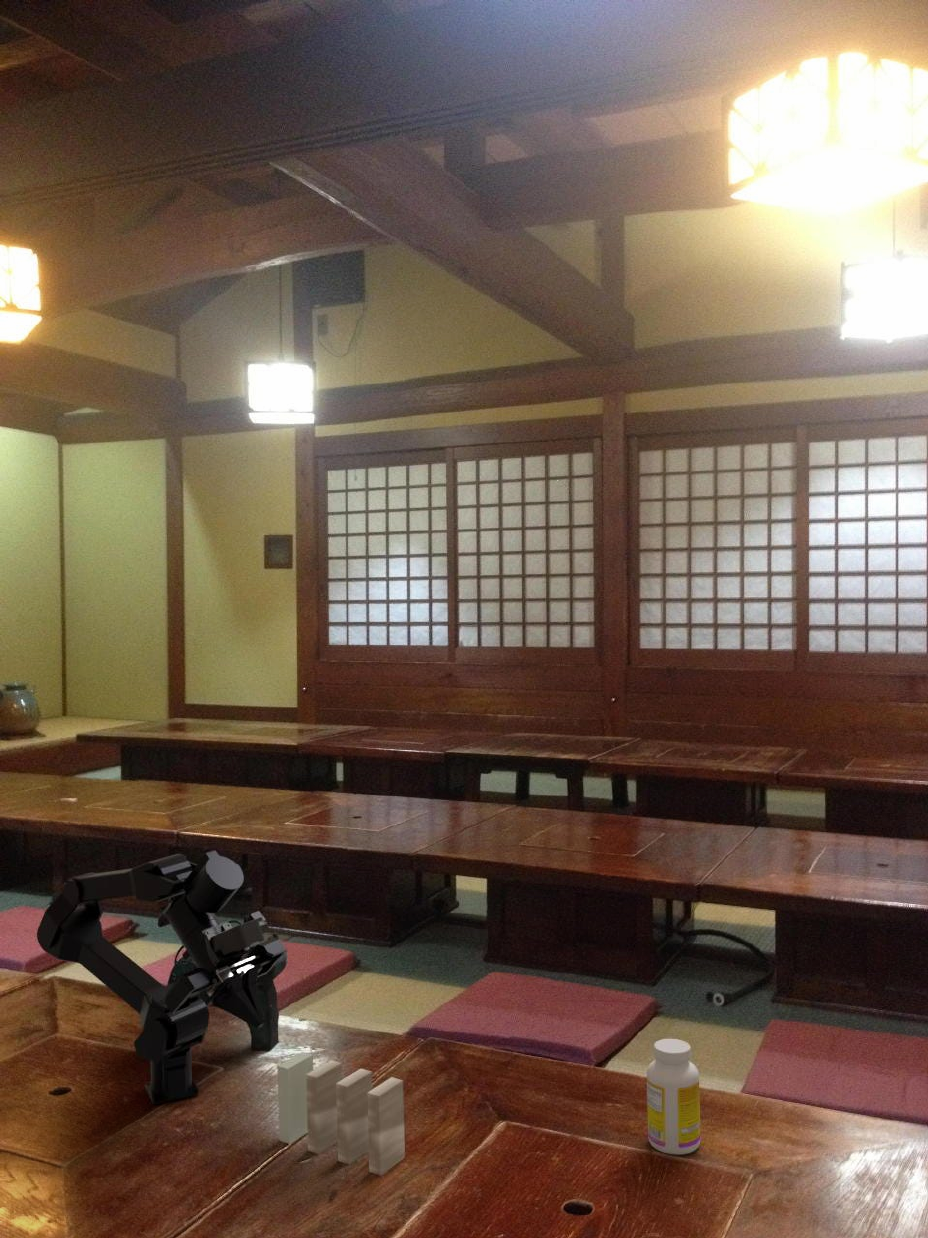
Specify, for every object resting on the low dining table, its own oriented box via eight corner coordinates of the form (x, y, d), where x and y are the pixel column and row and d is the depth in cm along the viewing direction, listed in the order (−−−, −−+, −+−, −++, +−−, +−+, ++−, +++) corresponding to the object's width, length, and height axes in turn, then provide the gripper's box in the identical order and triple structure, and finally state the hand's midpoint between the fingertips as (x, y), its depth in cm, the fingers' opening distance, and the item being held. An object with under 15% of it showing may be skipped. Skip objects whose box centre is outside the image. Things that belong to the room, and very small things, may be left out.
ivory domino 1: (308, 1150, 144) (306, 1074, 144) (333, 1134, 148) (331, 1060, 148) (318, 1154, 143) (316, 1077, 143) (343, 1137, 147) (341, 1063, 147)
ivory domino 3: (369, 1172, 139) (367, 1092, 138) (393, 1154, 143) (391, 1077, 143) (380, 1176, 138) (378, 1096, 137) (404, 1158, 142) (403, 1080, 142)
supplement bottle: (703, 1135, 146) (702, 1038, 146) (697, 1160, 140) (695, 1059, 139) (652, 1128, 148) (650, 1032, 148) (643, 1152, 142) (642, 1053, 142)
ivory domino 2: (338, 1161, 142) (336, 1083, 141) (362, 1144, 146) (360, 1068, 145) (349, 1165, 141) (347, 1086, 140) (373, 1147, 145) (371, 1071, 144)
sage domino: (279, 1140, 147) (277, 1066, 147) (304, 1124, 151) (302, 1052, 151) (289, 1144, 146) (287, 1069, 146) (314, 1128, 150) (312, 1054, 150)
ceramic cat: (291, 1041, 179) (288, 917, 178) (275, 1058, 173) (272, 929, 172) (177, 1031, 184) (174, 911, 183) (158, 1048, 177) (154, 923, 176)
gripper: (177, 916, 146) (241, 1016, 140) (275, 881, 162) (336, 970, 156) (138, 965, 151) (198, 1064, 145) (237, 927, 166) (295, 1015, 160)
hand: (260, 1025), depth 151 cm, fingers closed
